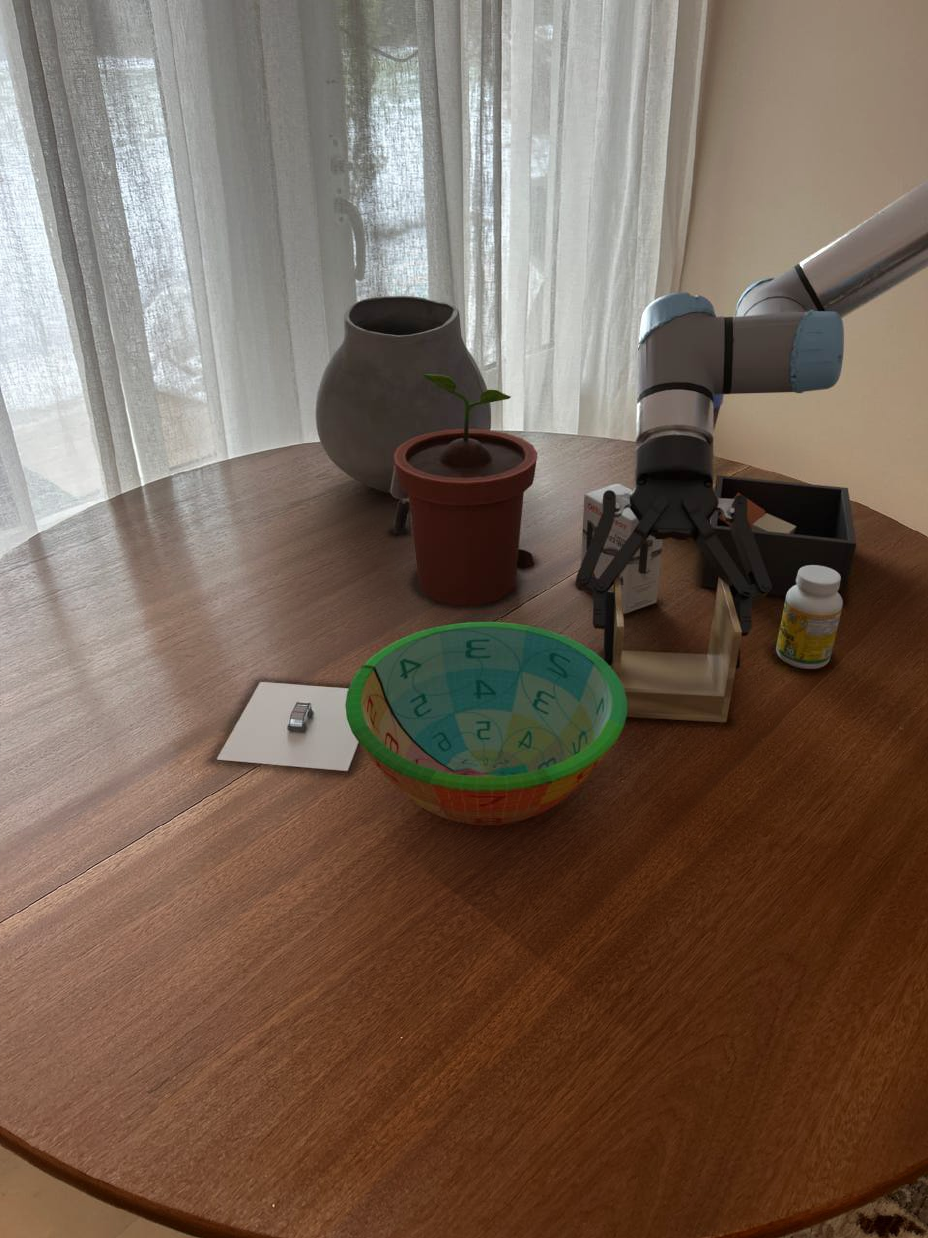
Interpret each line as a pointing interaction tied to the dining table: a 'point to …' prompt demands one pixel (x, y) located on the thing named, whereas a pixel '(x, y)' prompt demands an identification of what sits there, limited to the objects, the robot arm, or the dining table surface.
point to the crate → (681, 669)
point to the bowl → (486, 718)
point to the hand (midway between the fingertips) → (670, 666)
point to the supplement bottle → (810, 618)
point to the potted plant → (464, 506)
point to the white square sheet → (293, 728)
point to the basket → (814, 541)
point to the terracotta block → (752, 514)
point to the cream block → (773, 525)
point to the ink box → (645, 564)
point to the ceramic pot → (394, 384)
